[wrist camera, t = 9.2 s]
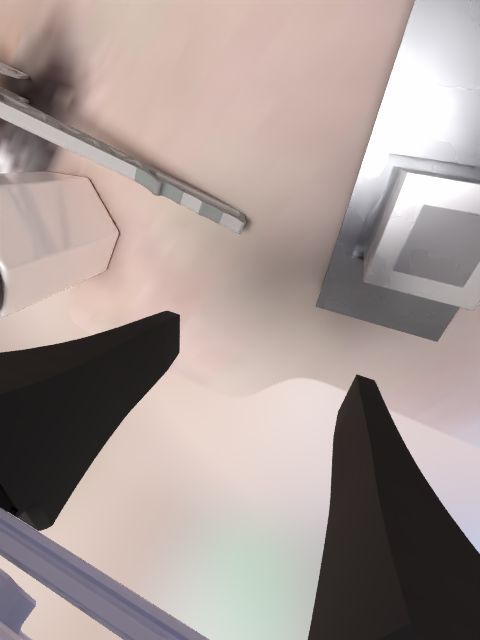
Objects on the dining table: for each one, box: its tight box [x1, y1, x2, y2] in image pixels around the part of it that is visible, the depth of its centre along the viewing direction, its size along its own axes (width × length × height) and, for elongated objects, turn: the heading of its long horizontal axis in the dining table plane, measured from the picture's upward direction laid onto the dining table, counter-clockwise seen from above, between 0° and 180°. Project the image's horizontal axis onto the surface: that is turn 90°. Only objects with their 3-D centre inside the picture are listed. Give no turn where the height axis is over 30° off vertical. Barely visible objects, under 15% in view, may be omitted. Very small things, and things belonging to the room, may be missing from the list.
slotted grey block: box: [364, 166, 480, 310], centre depth 12 cm, size 4×4×6 cm
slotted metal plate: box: [316, 0, 480, 341], centre depth 12 cm, size 7×22×2 cm, turn 172°
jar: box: [0, 171, 119, 317], centre depth 20 cm, size 9×8×12 cm
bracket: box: [0, 62, 246, 234], centre depth 18 cm, size 3×21×10 cm, turn 64°
